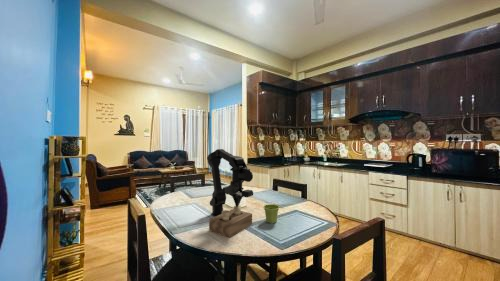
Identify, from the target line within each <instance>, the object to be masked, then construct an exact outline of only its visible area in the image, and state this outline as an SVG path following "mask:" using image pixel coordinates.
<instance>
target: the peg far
mask: <svg viewBox="0 0 500 281" xmlns="http://www.w3.org/2000/svg"><path fill="white" fill-rule="evenodd" d="M241 207H242V206H240V205H239V206H238V207H236V205H234V206H233V209H234V215H236V216H239V215H241V211H242V208H241Z"/></svg>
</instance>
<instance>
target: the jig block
mask: <svg viewBox="0 0 500 281" xmlns="http://www.w3.org/2000/svg"><path fill="white" fill-rule="evenodd" d="M228 211H229V221H227V222H225V221H222V214H220V215H218V216H213V217H211V218H209V219H208V220H209V221H208V224H209V225H208V231H210V232H211V233H215V234H217V235H220V236H224V237H226V238H231V237H233V236H235V235H236V234H238V233H240V232H241V231H244V229H245V230H246V228H248V227H250V226H252V225H253V213H251V212H247V211H243V210H241V215H239V216H236V215H234V208H232V209H229V210H228Z"/></svg>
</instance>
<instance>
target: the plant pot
mask: <svg viewBox="0 0 500 281" xmlns="http://www.w3.org/2000/svg"><path fill="white" fill-rule="evenodd" d="M263 209H264V213H265V220H266V222H267V223H270V224H275V223H277V221H278V213H279V209H280V206H279V205H278V204H272V203H271V204H270V203H268V204H265V205H263Z"/></svg>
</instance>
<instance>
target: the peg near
mask: <svg viewBox="0 0 500 281" xmlns="http://www.w3.org/2000/svg"><path fill="white" fill-rule="evenodd" d="M229 211H230V210H227V209H225V210H224V209H223V211H222V221H225V222H227V221H229Z"/></svg>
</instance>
